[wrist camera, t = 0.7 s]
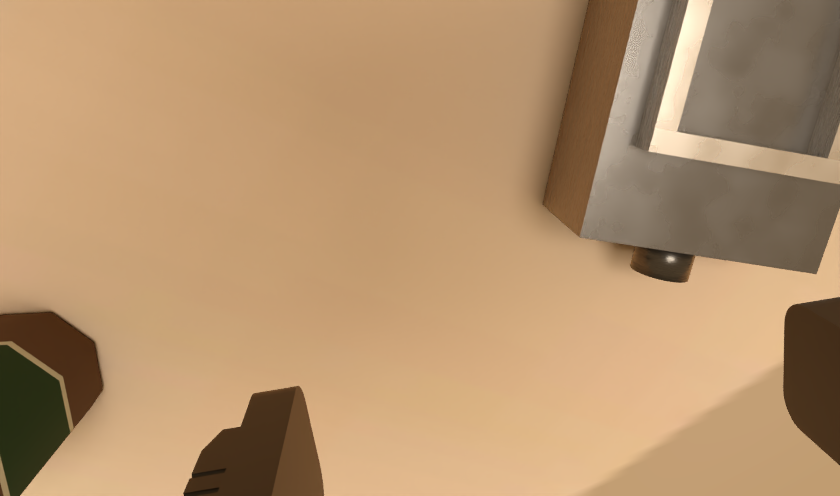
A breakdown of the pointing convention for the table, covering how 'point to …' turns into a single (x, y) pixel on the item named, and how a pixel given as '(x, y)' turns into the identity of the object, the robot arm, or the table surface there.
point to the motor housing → (703, 132)
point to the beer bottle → (40, 392)
